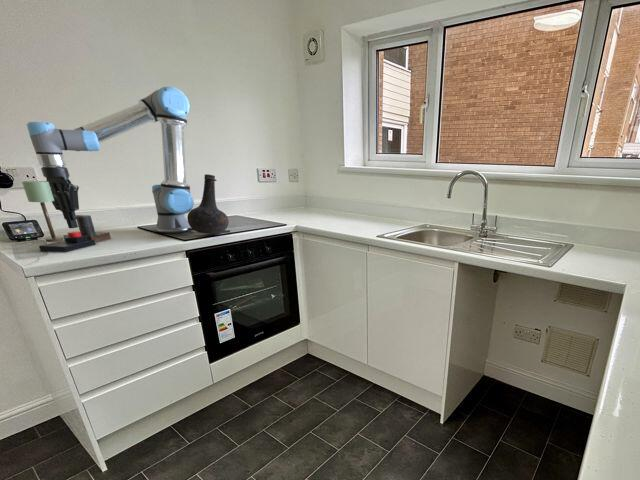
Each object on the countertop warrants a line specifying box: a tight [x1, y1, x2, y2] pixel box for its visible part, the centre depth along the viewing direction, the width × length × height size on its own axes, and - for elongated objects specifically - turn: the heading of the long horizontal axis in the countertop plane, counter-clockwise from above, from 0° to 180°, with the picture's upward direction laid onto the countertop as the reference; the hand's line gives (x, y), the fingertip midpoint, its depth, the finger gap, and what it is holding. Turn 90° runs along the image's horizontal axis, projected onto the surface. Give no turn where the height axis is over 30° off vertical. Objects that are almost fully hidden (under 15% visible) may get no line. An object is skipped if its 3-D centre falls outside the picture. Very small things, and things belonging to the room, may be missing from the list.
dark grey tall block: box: [76, 214, 96, 236], centre depth 152 cm, size 5×5×8 cm
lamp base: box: [38, 235, 97, 253], centre depth 142 cm, size 10×14×4 cm
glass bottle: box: [186, 173, 229, 235], centre depth 171 cm, size 18×18×28 cm
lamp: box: [21, 180, 64, 243], centre depth 133 cm, size 7×7×22 cm
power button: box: [67, 230, 81, 237], centre depth 145 cm, size 4×4×2 cm
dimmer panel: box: [63, 231, 112, 244], centre depth 155 cm, size 13×11×3 cm
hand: (73, 227), depth 144 cm, fingers closed
